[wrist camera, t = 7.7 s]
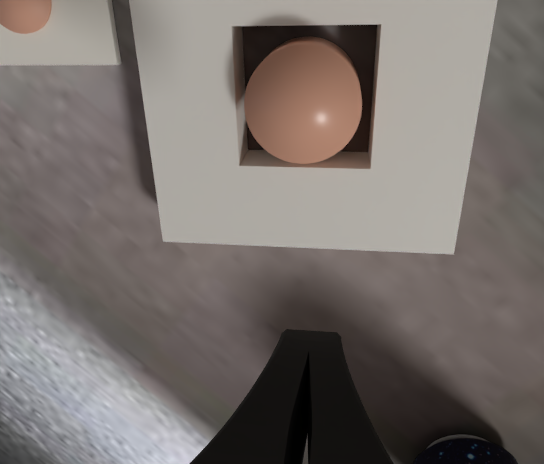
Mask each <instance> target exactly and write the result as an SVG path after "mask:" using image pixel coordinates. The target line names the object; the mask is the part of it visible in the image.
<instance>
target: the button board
mask: <svg viewBox="0 0 544 464" xmlns="http://www.w3.org/2000/svg"><path fill="white" fill-rule="evenodd" d="M129 4H130V11H131V19H132V26H133V33H134V40H135V47H136V54H137V61H138V68H139V75H140V82H141V89H142V96H143V103H144V110H145V117H146V125H147V132H148V139H149V146H150V153H151V160H152V167H153V174H154V181H155V188H156V195H157V202H158V209H159V216H160V223H161V231H162V238H163V242H185V243H208V244H230V245H253V246H276V247H299V248H321V249H344V250H367V251H390V252H412V253H435V254H454V250H455V244H456V238H457V232H458V226H459V221H460V215H461V209H462V203H463V197H464V191H465V186H466V180H467V174H468V168H469V162H470V157H471V151H472V145H473V139H474V133H475V128H476V122H477V116H478V110H479V104H480V98H481V93H482V87H483V81H484V75H485V69H486V64H487V58H488V52H489V46H490V40H491V35H492V29H493V23H494V17H495V11H496V5H497V0H129ZM294 25H377V36H376V50H375V64H374V78H373V92H372V106H371V120H370V134H369V148H368V152H341V151H339V152H338V153H337V154H335V155H333V156H332V157H330V158H327V159H325V160H323V161H319V162H316V163H310V164H298V163H291V162H287V161H284V160H281V159H279V158H277V157H275V156H273V155H272V154H270V153H269V152H267V151H266V150H248V140H247V121H246V117H245V110H244V98H245V75H244V53H243V31H242V26H294Z"/></svg>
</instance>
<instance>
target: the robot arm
mask: <svg viewBox="0 0 544 464" xmlns="http://www.w3.org/2000/svg"><path fill="white" fill-rule="evenodd" d="M307 433H308V464H393V462H392V460H391V459H390V457H389V455H388V453H387V452H386V450H385V448H384V446H383V445H382V443H381V441H380V439H379V437H378V435H377V433H376V432H375V430H374V428H373V426H372V424H371V422H370V420H369V418H368V416H367V413H366V411H365V409H364V407H363V405H362V402H361V400H360V398H359V395H358V393H357V390H356V388H355V386H354V383H353V380H352V378H351V375H350V372H349V369H348V366H347V363H346V360H345V356H344V352H343V348H342V343H341V336H340V335H339V334H338V333H335V332H320V331H304V330H289V329H287V330H285V331H284V332H283V333H282V334H281V337H280V340H279V342H278V344H277V346H276V348H275V350H274V352H273V354H272V356H271V358H270V359H269V361H268V363H267V365H266V366H265V368H264V370H263V371H262V373H261V374H260V376H259V378H258V379H257V381H256V382H255V384H254V385H253V387H252V389H251V390H250V392H249V393H248V394H247V396H246V397H245V398H244V400H243V401H242V403H241V404H240V405H239V407H238V408H237V409H236V411H235V412H234V414H233V415H232V416H231V417H230V419H229V420H228V421H227V422H226V424H225V425H224V426H223V427H222V429H221V430H220V431H219V432H218V433H217V435H216V436H215V437H214V438H213V439H212V440H211V441H210V443H209V444H208V445H207V446H206V447H205V448H204V449H203V450H202V451H201V452H200V453H199V454H198V455H197V456H196V457H195V459H194V460H193V461H192V462H191V463H190V464H302V463H303V457H304V451H305V445H306V439H307Z"/></svg>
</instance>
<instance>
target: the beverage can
mask: <svg viewBox="0 0 544 464" xmlns="http://www.w3.org/2000/svg"><path fill="white" fill-rule="evenodd" d="M413 464H518V463H517V461H516V459H515V458H514V457H513V456H512V455H511V454H510V453H509V452H508V451H507V450H505V449H504V448H502V447H500V446H498V445H496V444H493V443H491V442H489V441H487V440H485V439H483V438H480V437H477V436H473V435H466V434H457V435H450V436H446V437H443V438H440V439H438V440H436V441H434V442H433V443H431V444H430V445H429V446H428V447H427V448H426V449H425V450H424V451H423V452H422V453H421V454H419V456H418V457H417V458H416V459H415V461H414V462H413Z"/></svg>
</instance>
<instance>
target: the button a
mask: <svg viewBox="0 0 544 464" xmlns="http://www.w3.org/2000/svg"><path fill="white" fill-rule="evenodd" d="M244 110H245V117H246V121H247V124H248V127H249V129H250V131H251V133H252V135H253V136H254V138H255V139H256V141H257V142H258V143H259V144H260V145H261V146H262V147H263V148H264V149H265V150H266V151H267V152H269V153H270V154H272V155H273V156H275V157H277V158H279V159H281V160H284V161H287V162H291V163H298V164H310V163H316V162H319V161H323V160H325V159H327V158H330V157H332V156H333V155H335V154H337V153H338V152H339V151H340V150H342V149H343V148H344V147H345V146H346V145H347V144H348V142H349V141H350V140H351V138H352V137H353V135H354V134H355V132H356V130H357V127H358V125H359V122H360V118H361V113H362V96H361V89H360V83H359V77H358V73H357V70H356V68H355V66H354V64H353V62H352V60H351V59H350V57H349V56H348V55H347V54H346V53H345V52H344V51H343V50H342V49H341V48H340V47H339V46H337V45H336V44H334V43H332V42H330V41H328V40H325V39H323V38H318V37H310V36H306V37H298V38H293V39H291V40H288V41H286V42H284V43H282V44H280V45H279V46H278V47H276V48H275V49H274V50H273V51H272V52H271V53H270V54H269V55H268V56H267V57H266V58H265V59H264V60H263V61H262V62H261V63H260V64H259V66H258V67H257V68H256V69H255V71H254V72H253V74H252V76H251V78H250V80H249V82H248V84H247V88H246V92H245V98H244Z"/></svg>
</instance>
